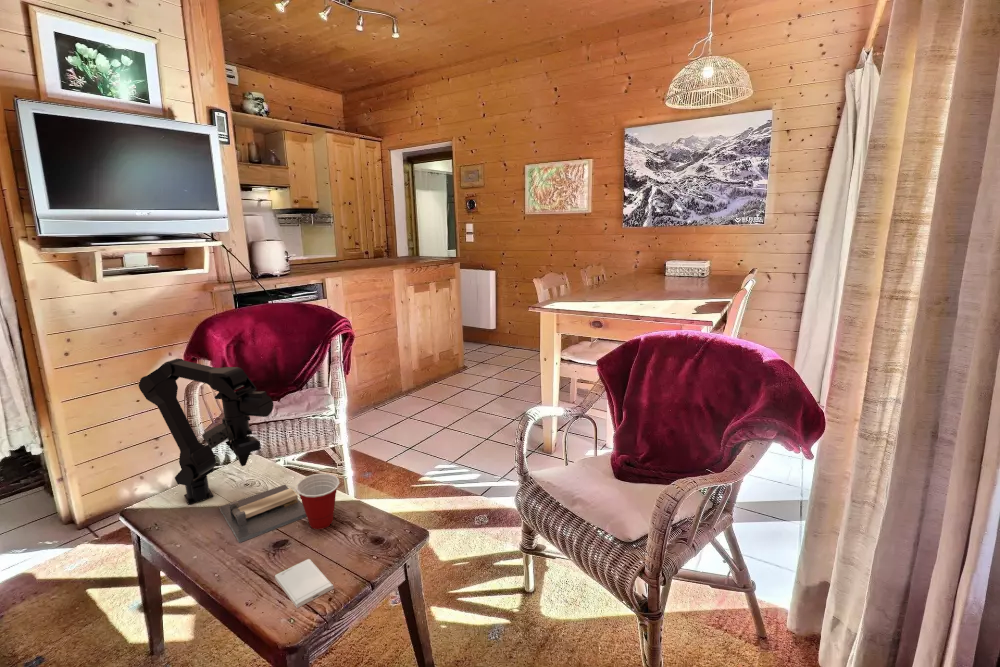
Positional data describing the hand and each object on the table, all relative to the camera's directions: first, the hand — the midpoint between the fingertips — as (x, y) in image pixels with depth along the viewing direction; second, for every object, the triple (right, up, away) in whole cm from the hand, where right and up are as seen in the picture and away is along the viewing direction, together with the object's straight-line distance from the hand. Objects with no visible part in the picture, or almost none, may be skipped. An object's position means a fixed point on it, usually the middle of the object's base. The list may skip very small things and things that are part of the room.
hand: (243, 465), depth 142 cm
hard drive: (+29, -19, -30) cm, 46 cm away
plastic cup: (+25, -14, -7) cm, 29 cm away
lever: (+7, -11, -2) cm, 13 cm away
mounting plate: (+7, -13, -2) cm, 15 cm away
